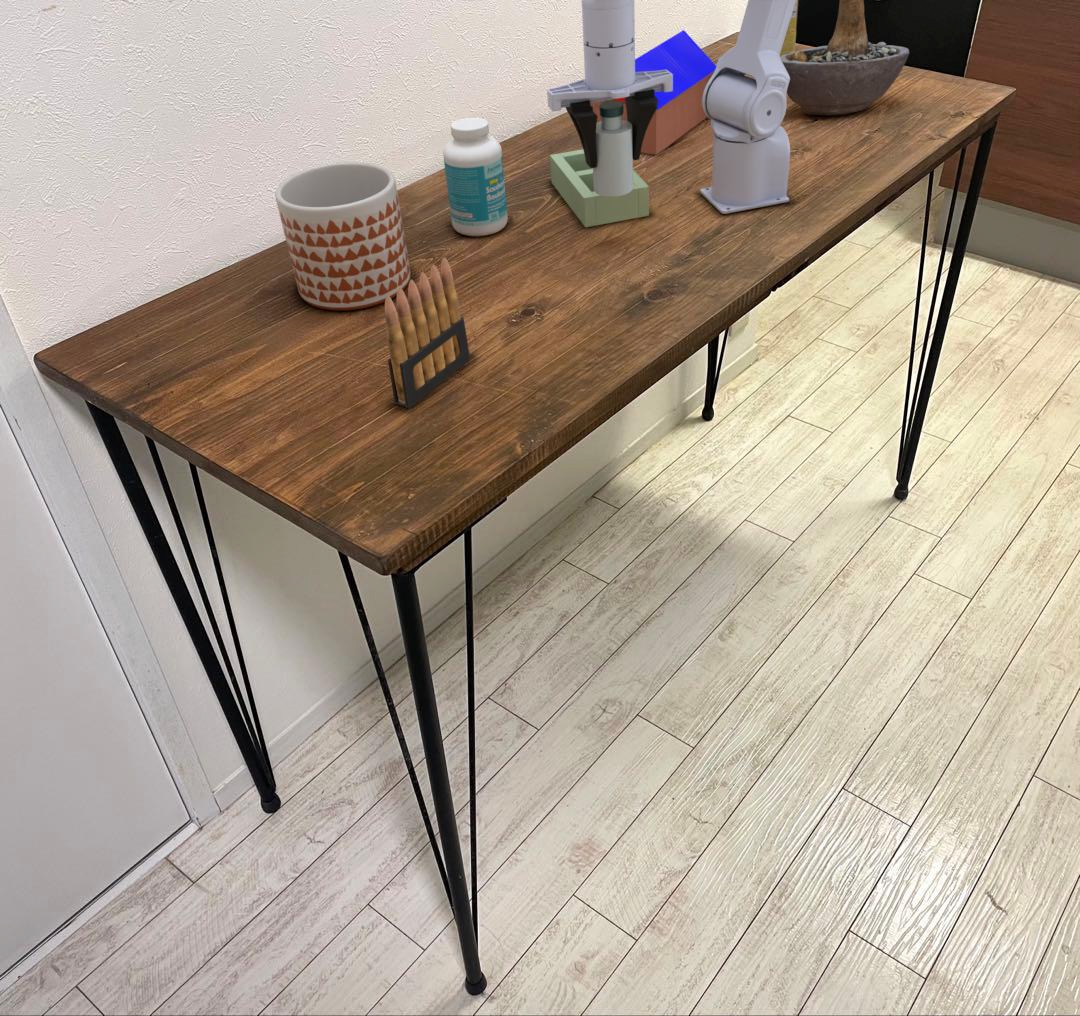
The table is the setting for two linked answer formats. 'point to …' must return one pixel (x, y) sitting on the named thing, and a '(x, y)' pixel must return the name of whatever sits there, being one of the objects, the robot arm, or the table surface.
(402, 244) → the patterned ceramic pot
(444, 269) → the ammunition clip
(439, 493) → the table surface
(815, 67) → the planter
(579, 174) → the tray
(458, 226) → the pill bottle
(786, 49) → the candy box
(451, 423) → the table surface
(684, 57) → the house
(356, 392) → the table surface
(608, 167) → the bottle
